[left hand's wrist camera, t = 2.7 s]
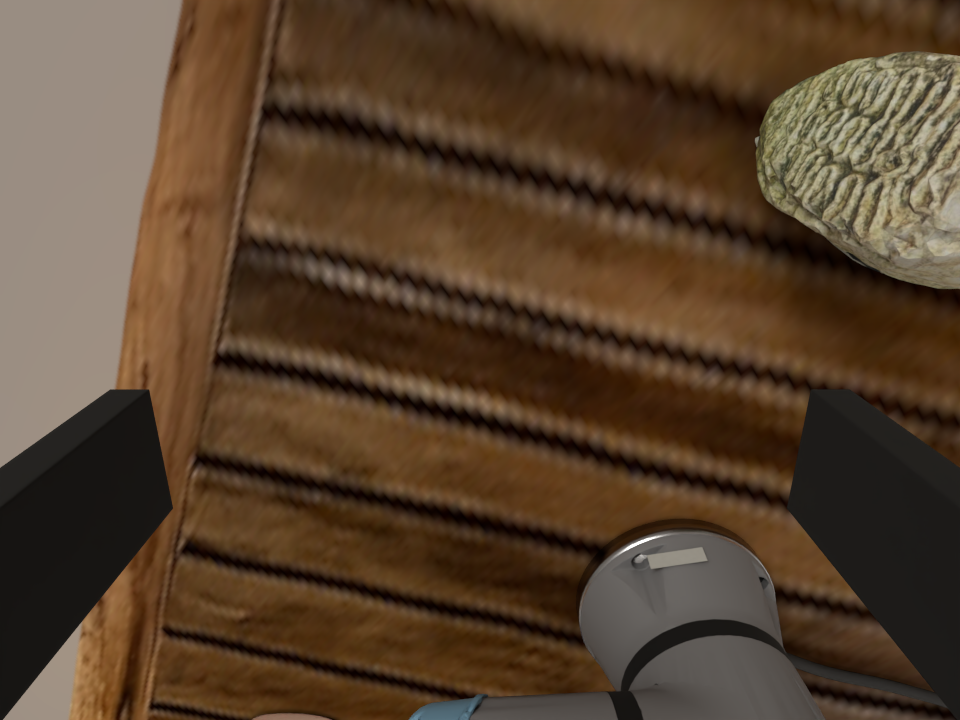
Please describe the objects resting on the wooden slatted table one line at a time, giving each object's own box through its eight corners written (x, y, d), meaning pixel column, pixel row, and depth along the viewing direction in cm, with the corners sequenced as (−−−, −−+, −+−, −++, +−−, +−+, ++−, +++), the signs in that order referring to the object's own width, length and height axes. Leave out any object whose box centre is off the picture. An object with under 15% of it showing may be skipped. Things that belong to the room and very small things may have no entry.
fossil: (766, 49, 37) (946, 1, 22) (1022, 174, 39) (1327, 202, 25) (692, 194, 39) (809, 231, 25) (934, 302, 42) (1164, 391, 28)
